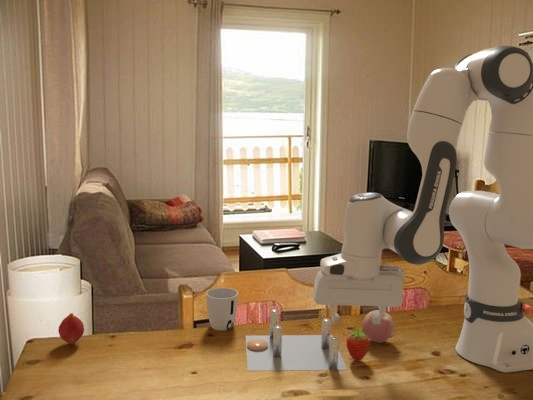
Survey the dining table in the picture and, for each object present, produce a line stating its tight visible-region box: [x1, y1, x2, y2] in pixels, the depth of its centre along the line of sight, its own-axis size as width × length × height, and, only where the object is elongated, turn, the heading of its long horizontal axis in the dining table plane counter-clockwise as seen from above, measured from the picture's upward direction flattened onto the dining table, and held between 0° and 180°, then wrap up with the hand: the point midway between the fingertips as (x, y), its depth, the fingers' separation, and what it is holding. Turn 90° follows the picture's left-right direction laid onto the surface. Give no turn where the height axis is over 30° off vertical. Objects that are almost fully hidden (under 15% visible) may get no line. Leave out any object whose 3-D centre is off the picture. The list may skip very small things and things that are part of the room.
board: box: [245, 334, 348, 372], centre depth 131 cm, size 22×18×1 cm
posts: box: [269, 308, 340, 371], centre depth 130 cm, size 14×18×7 cm
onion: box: [58, 312, 85, 345], centre depth 134 cm, size 6×6×8 cm
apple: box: [361, 309, 395, 344], centre depth 139 cm, size 8×8×8 cm
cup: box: [205, 287, 239, 332], centre depth 144 cm, size 8×8×10 cm
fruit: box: [346, 327, 370, 362], centre depth 128 cm, size 5×5×8 cm
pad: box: [247, 339, 268, 351], centre depth 133 cm, size 5×5×1 cm
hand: (355, 322), depth 127 cm, fingers open, 8 cm apart
